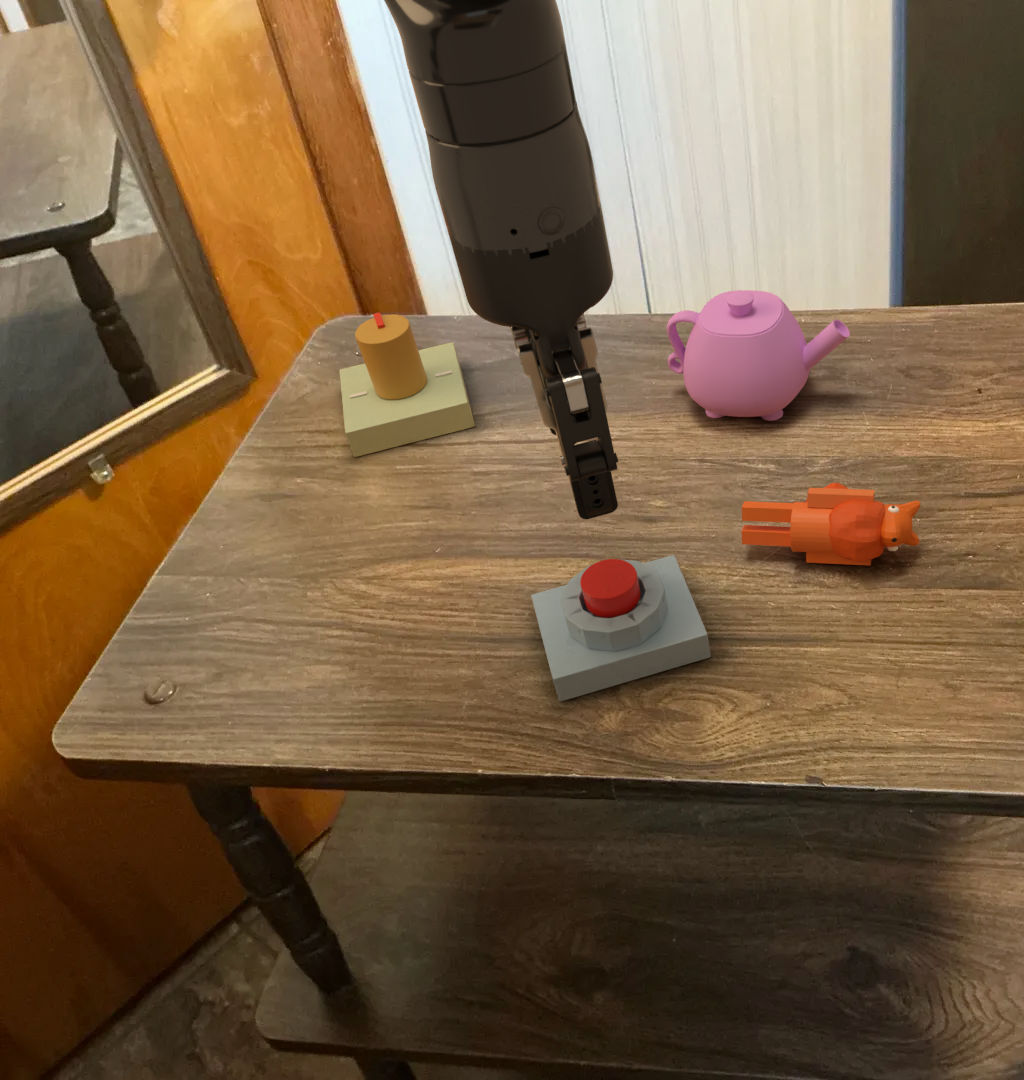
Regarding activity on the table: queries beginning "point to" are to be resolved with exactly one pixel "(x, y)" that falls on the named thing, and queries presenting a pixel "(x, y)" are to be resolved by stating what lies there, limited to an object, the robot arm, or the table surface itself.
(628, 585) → the bell button
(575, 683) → the grey button base
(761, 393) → the teapot
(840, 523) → the orange fox minifigure
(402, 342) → the lock knob
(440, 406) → the plate
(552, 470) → the table surface
